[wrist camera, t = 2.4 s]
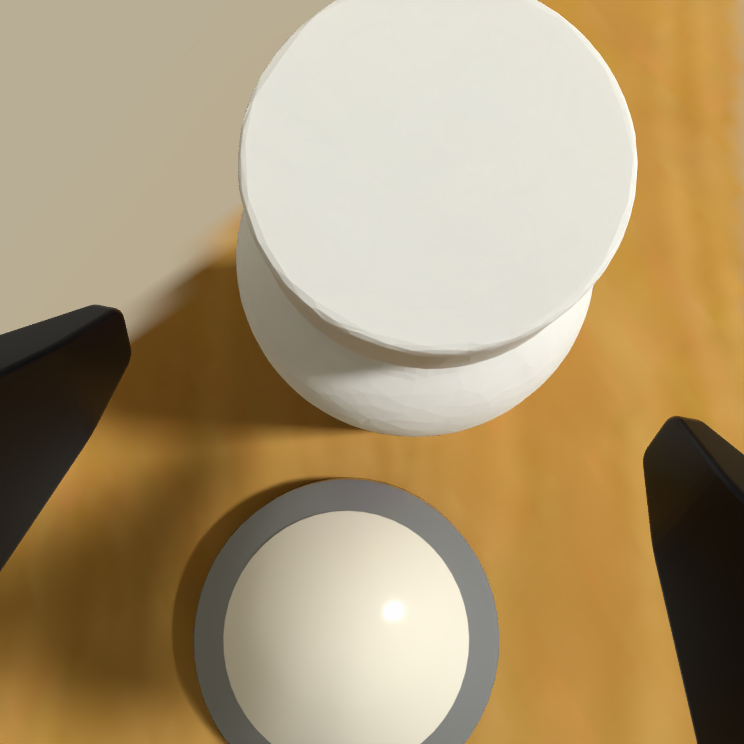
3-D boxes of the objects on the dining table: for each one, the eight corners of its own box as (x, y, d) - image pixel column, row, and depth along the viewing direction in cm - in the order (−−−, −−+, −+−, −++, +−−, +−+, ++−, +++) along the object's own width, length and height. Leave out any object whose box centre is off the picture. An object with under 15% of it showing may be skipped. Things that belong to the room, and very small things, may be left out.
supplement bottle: (269, 321, 19) (36, 85, 6) (413, 222, 19) (489, -204, 6) (374, 470, 18) (370, 569, 5) (520, 363, 18) (851, 211, 6)
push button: (452, 818, 17) (457, 845, 15) (166, 731, 17) (152, 752, 16) (521, 520, 18) (531, 526, 17) (251, 445, 18) (244, 446, 17)
